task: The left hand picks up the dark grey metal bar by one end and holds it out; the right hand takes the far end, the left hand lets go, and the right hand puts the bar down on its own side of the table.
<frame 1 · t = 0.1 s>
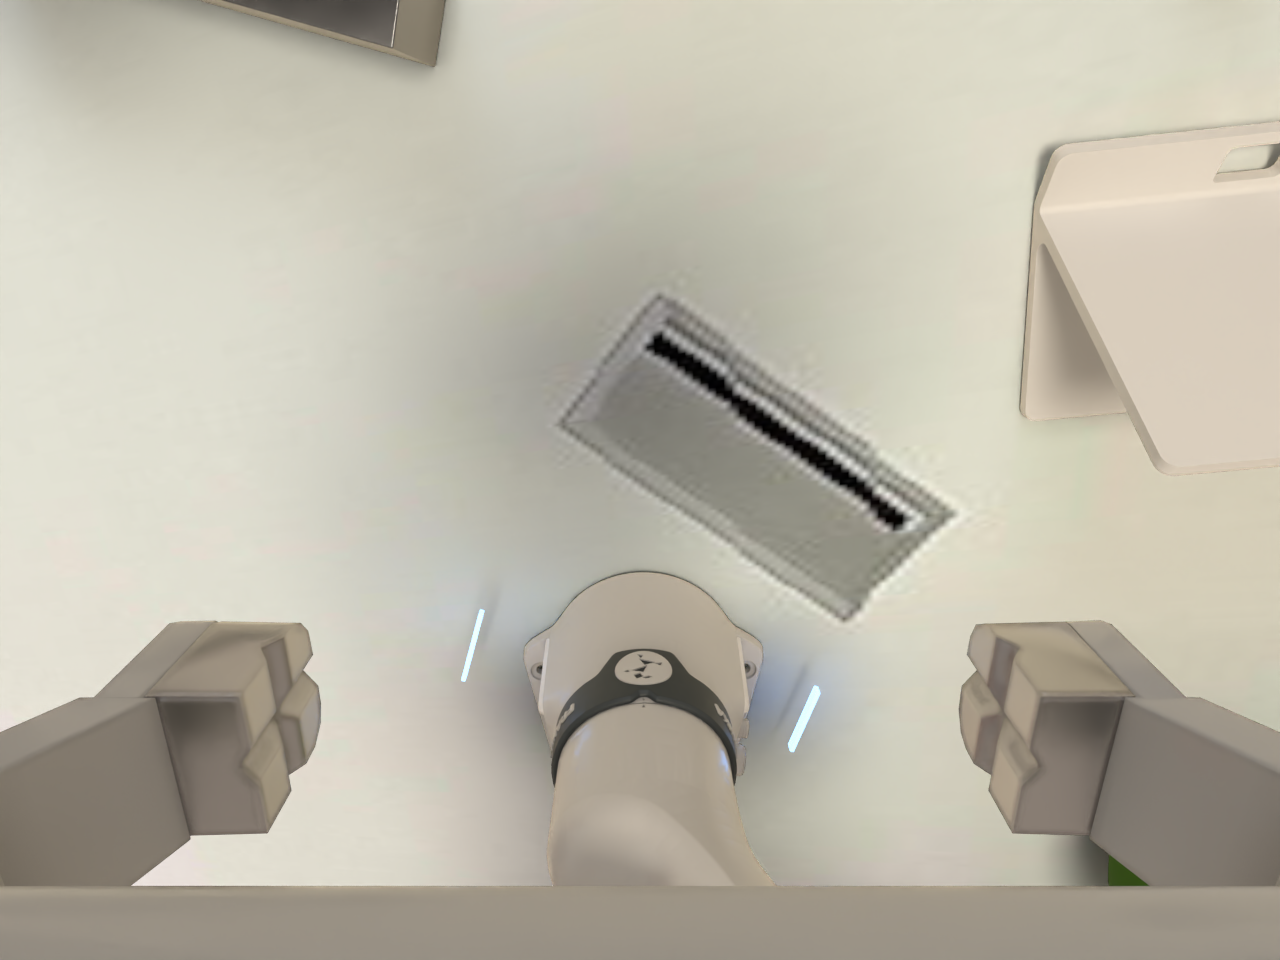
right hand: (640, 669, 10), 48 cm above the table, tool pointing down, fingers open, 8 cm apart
vase: (1161, 815, 72), on the table
tablet stand: (1216, 270, 55), on the table
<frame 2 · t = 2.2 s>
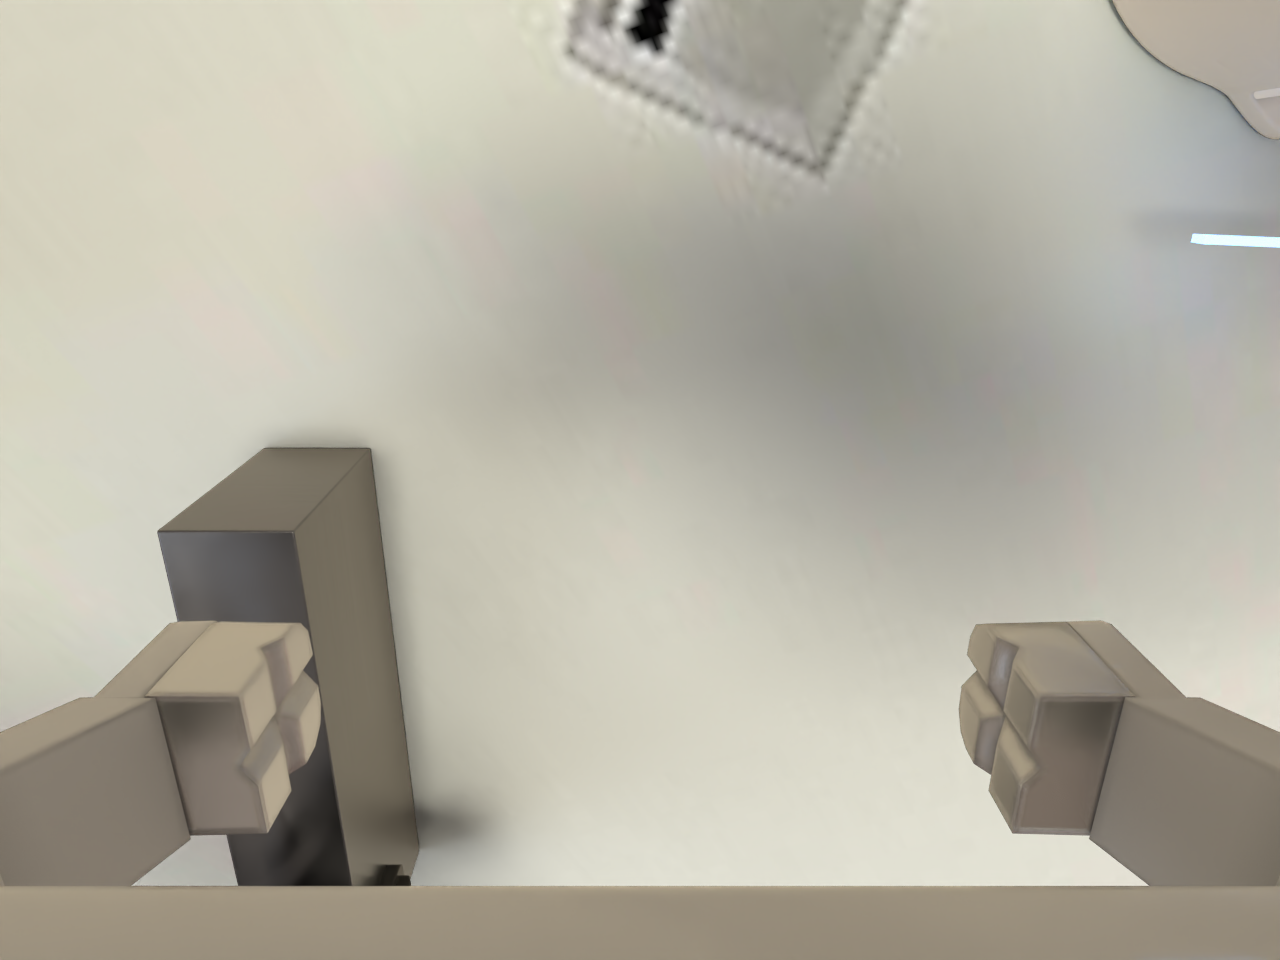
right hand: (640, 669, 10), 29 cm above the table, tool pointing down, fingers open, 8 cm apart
bar: (349, 669, 44), on the table, touching left hand
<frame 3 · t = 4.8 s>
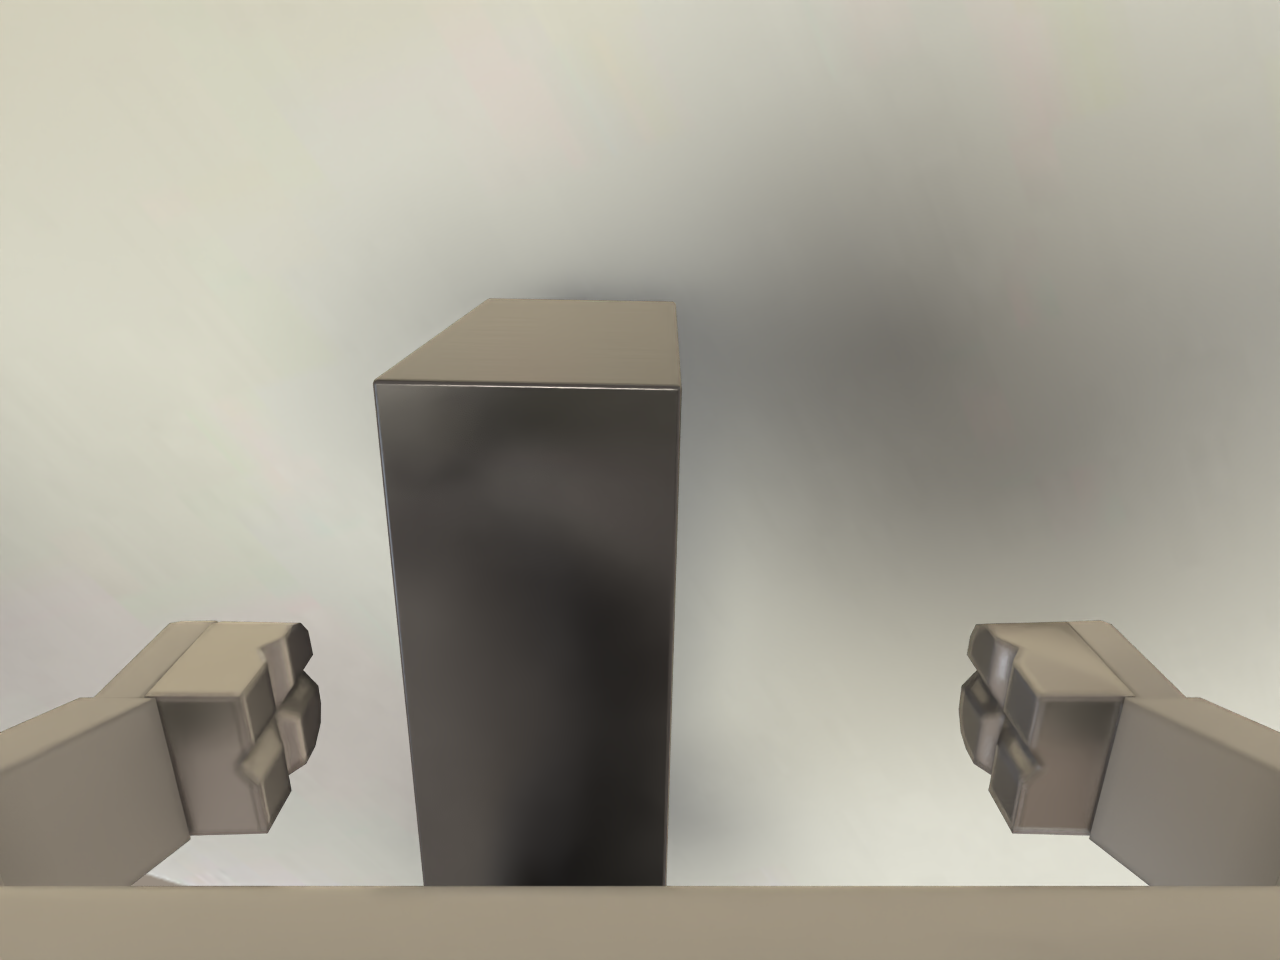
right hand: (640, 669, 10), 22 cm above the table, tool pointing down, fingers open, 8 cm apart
bar: (585, 691, 27), point 8 cm above the table, touching left hand
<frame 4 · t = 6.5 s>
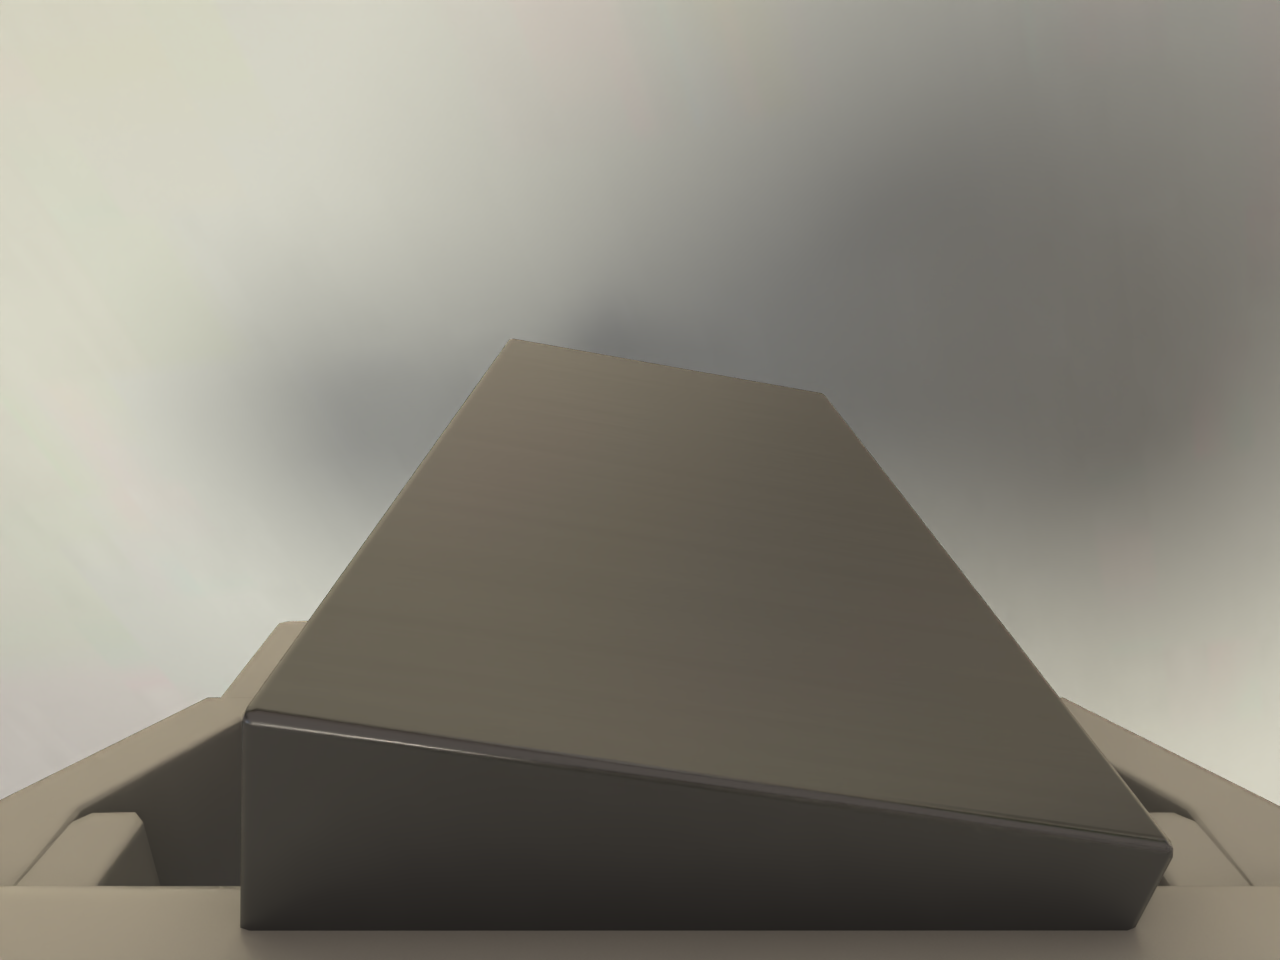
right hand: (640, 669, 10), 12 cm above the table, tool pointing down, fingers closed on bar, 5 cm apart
bar: (557, 933, 18), point 8 cm above the table, touching right hand, left hand
when the left hand's fingers open (13 cm above the table, at t = 7.7 s): bar stays where it is, held by the right hand.
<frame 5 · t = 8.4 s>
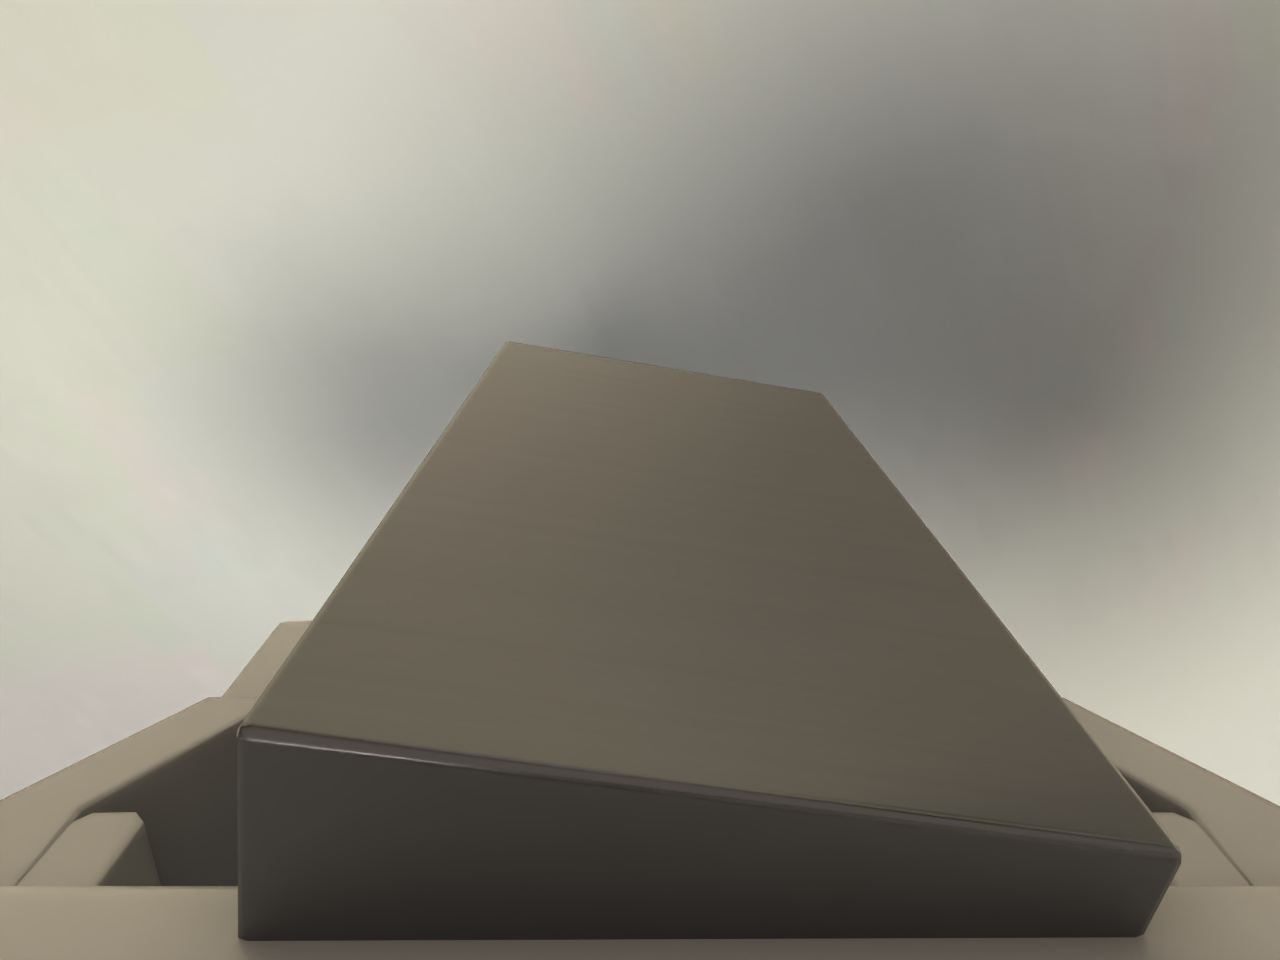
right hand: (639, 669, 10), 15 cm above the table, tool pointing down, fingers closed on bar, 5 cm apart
bar: (561, 937, 18), point 11 cm above the table, touching right hand
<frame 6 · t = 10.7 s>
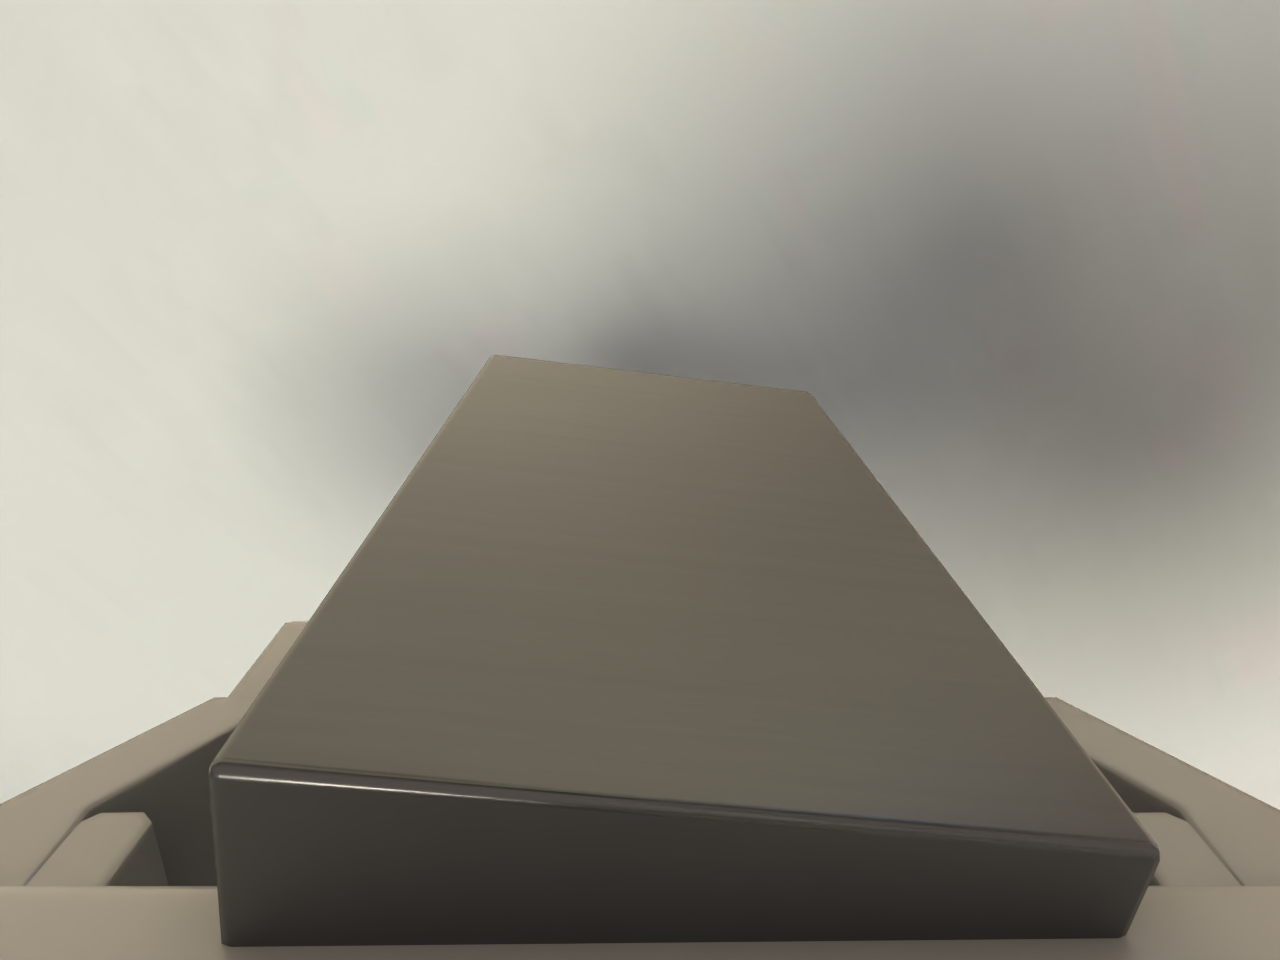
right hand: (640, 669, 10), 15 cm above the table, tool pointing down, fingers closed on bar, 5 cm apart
bar: (576, 944, 18), point 11 cm above the table, touching right hand
when the right hand's fingers open (6 cm above the table, at t = 15.0 s): bar stays where it is, on the table.
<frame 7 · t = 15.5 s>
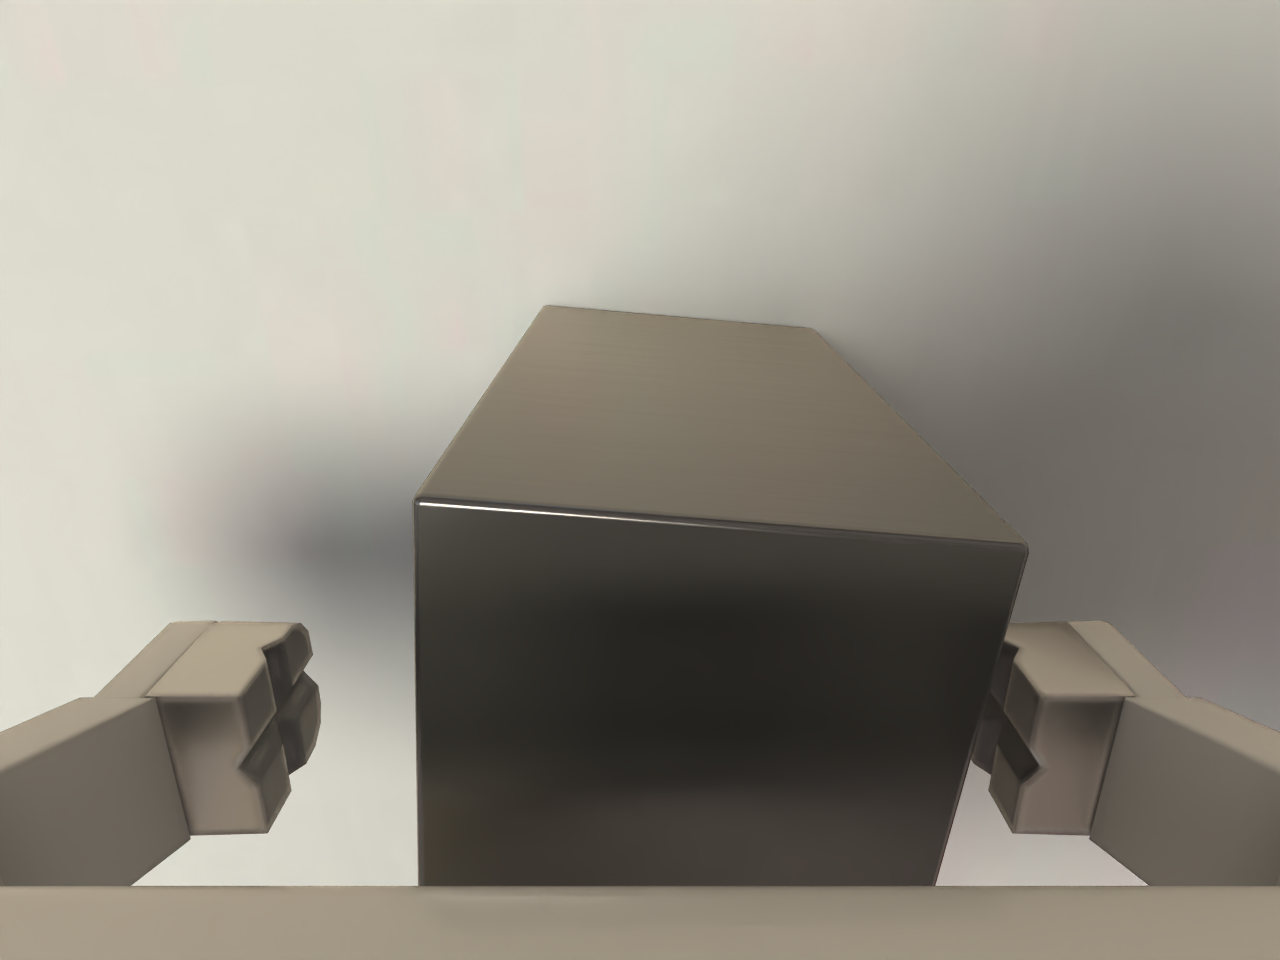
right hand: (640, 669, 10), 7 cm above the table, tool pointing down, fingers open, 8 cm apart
bar: (626, 833, 20), on the table
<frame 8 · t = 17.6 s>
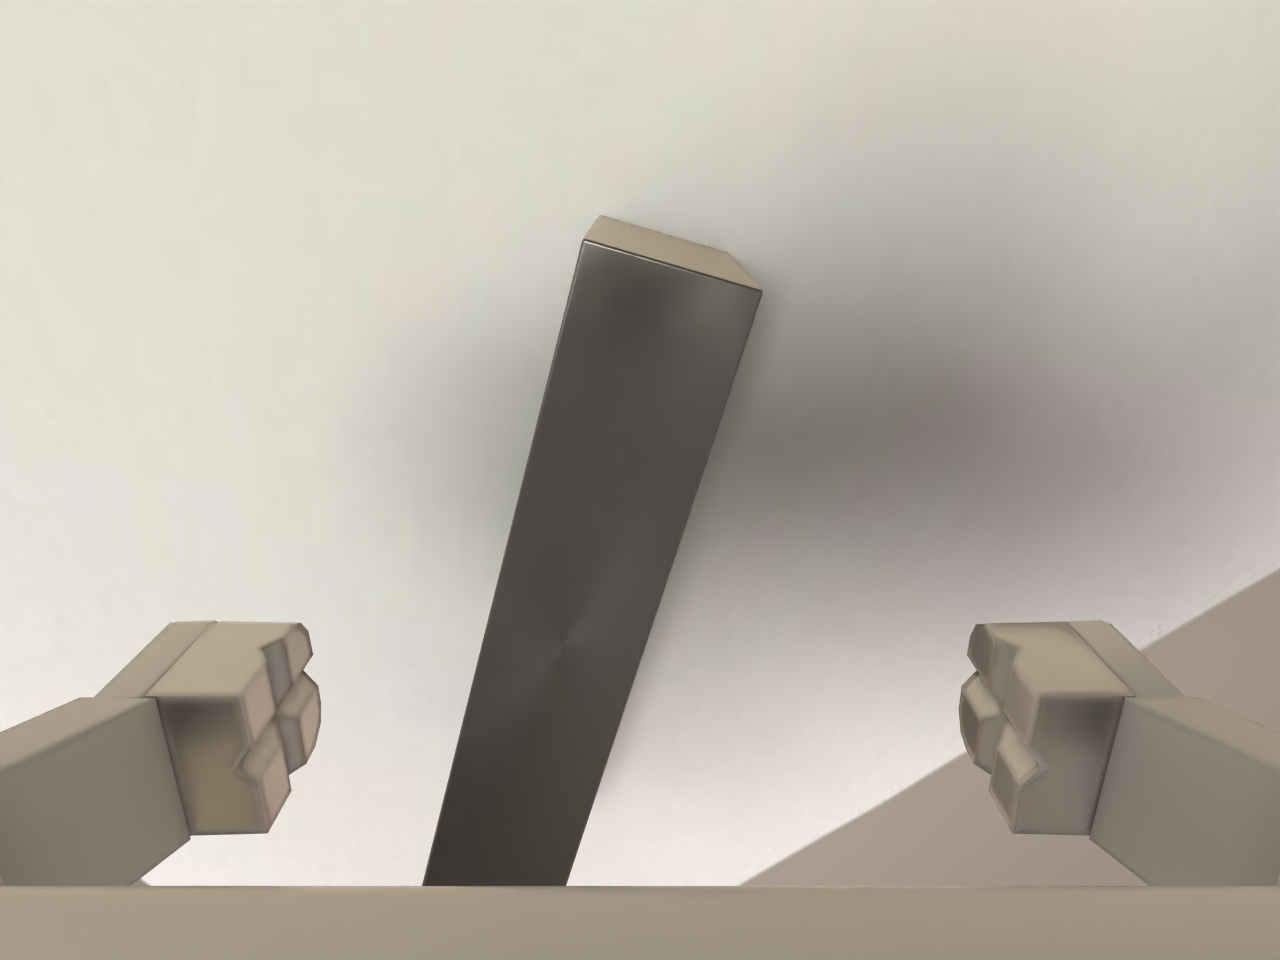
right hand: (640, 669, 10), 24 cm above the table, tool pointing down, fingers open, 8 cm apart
bar: (582, 524, 36), on the table
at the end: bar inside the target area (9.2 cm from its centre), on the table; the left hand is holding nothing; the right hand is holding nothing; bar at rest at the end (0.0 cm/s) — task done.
